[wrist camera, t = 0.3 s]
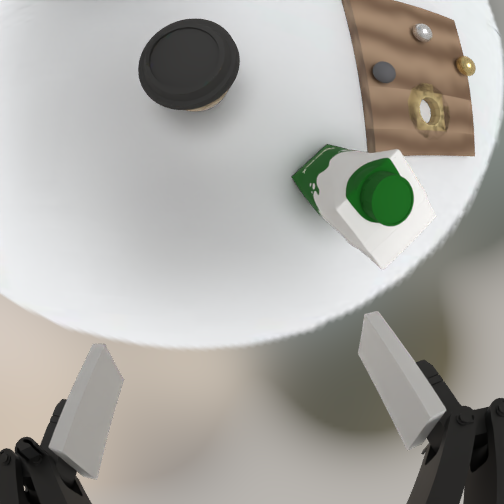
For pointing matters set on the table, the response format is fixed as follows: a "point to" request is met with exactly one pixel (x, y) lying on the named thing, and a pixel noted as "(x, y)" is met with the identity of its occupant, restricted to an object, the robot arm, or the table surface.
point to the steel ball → (422, 32)
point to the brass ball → (465, 65)
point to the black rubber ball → (384, 72)
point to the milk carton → (367, 199)
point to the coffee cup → (189, 65)
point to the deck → (410, 80)
